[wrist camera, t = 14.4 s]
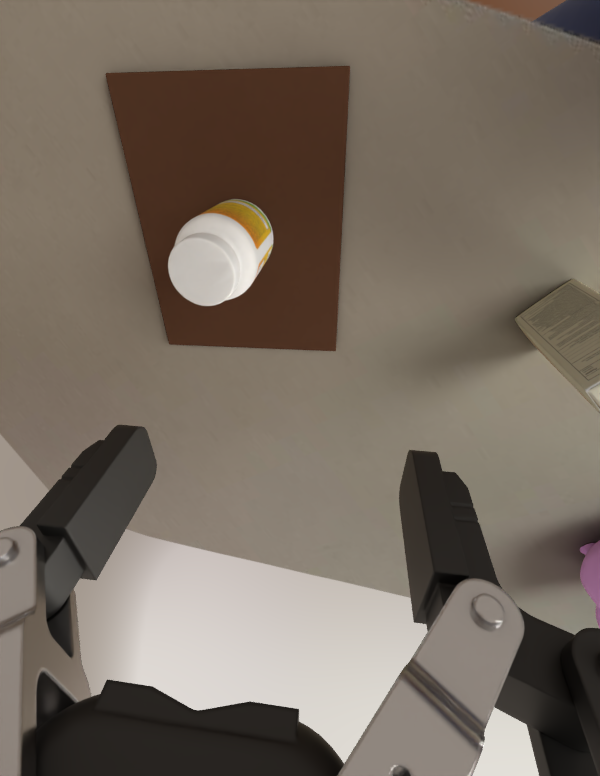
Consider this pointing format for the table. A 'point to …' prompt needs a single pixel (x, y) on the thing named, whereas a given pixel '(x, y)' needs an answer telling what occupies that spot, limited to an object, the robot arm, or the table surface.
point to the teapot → (592, 573)
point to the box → (569, 335)
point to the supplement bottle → (220, 252)
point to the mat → (243, 190)
